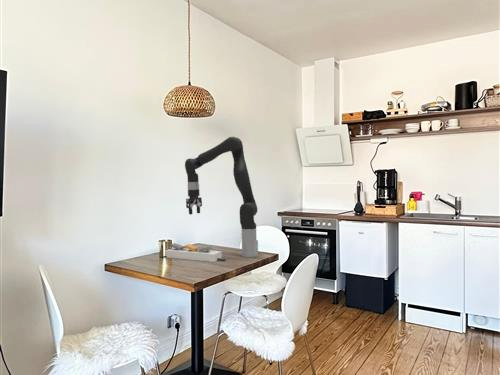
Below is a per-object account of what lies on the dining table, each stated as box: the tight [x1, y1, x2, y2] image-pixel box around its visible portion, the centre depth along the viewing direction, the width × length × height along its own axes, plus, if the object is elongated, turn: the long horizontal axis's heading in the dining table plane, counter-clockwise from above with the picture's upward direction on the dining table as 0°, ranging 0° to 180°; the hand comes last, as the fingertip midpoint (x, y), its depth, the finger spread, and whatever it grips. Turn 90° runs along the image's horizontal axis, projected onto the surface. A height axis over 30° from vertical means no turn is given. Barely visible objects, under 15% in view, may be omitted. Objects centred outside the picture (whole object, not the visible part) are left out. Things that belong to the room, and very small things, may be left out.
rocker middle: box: [184, 243, 199, 251], centre depth 223 cm, size 7×4×2 cm, turn 64°
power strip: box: [165, 247, 226, 263], centre depth 222 cm, size 43×9×5 cm, turn 64°
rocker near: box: [198, 245, 213, 252], centre depth 218 cm, size 7×4×2 cm, turn 63°
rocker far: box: [170, 242, 185, 250], centre depth 227 cm, size 7×4×2 cm, turn 64°
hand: (194, 213), depth 238 cm, fingers open, 8 cm apart
